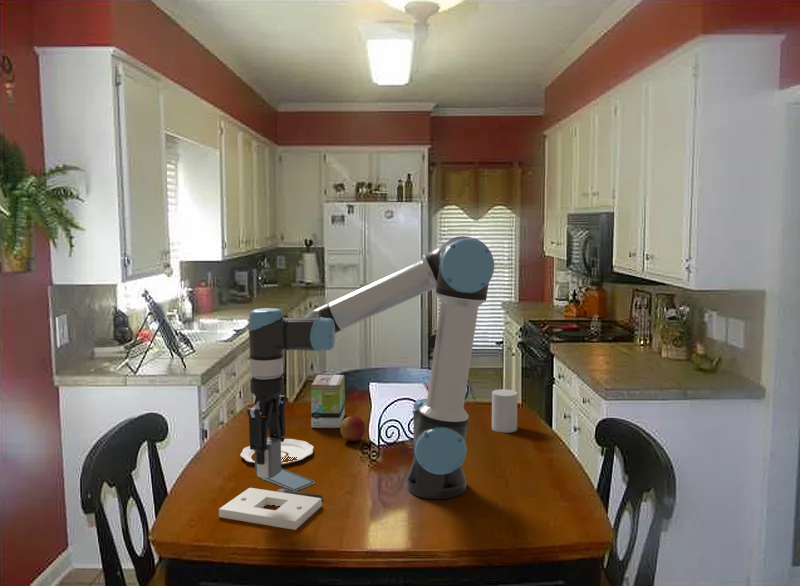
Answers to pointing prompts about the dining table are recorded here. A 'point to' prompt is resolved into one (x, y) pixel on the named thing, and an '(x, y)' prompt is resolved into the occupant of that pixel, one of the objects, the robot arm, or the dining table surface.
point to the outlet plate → (286, 516)
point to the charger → (272, 456)
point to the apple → (352, 428)
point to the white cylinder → (504, 410)
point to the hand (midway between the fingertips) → (268, 472)
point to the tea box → (327, 401)
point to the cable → (300, 493)
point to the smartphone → (290, 480)
